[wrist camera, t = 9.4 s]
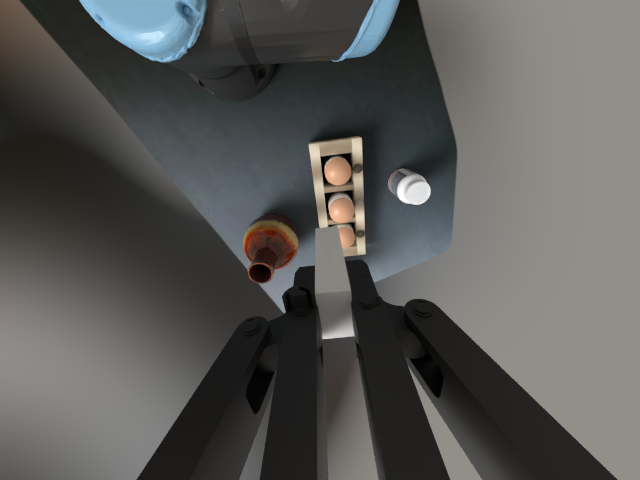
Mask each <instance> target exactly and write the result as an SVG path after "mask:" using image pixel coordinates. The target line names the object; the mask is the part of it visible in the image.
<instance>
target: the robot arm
mask: <svg viewBox="0 0 640 480" xmlns="http://www.w3.org/2000/svg"><path fill="white" fill-rule="evenodd" d="M79 1H80V2H81V4H82V5H83V6H84V8H85V9H86V10H87V11H88V13H89V14H90V15H91V16H92V18H93V19H94V20H95V21H96V22H97V23H98V24H99V25H100V26H101V27H102V28H103V29H104V30H106V31H107V32H108V33H109V34H110V35H111V36H112V37H114V38H115V39H117V40H118V41H119V42H121V43H123V44H124V45H126V46H128V47H129V48H131V49H133V50H134V51H136V52H137V53H138V54H141V55H143V56H144V57H146V58H149V59H151V60H153V61H160V62H162V63H165V64H168V65H170V66H173V67H176V68H178V69H181V70H183V71H186V72H187V73H188V74H189V75H190V76H191V78H192V79H193V80H194V81H195V82H196V83H197V84H198V85H199V86H201V87H202V88H203V89H205V90H206V91H207V92H209V93H211V94H213V95H215V96H217V97H220V98H223V99H227V100H232V101H241V100H246V99H249V98H252V97H254V96H256V95H257V94H259V93H260V92H261V91H262V90H263V89H264V88H265V87H266V86H267V84H268V83H269V81H270V79H271V77H272V75H273V73H274V70H275V66H276V63H294V62H311V61H329V60H331V61H333V62H338V61H342V60H344V59H345V58H353V57H361V56H365V55H367V54H369V53H371V52H372V51H374V50H375V49H376V48H377V47H378V46H379V44H380V43H381V42H382V40H383V38H384V37H385V35H386V33H387V31H388V29H389V27H390V25H391V23H392V20H393V18H394V15H395V12H396V10H397V7H398V4H399V1H400V0H79ZM282 299H283V303H284V307H285V310H286V313H285V314H284V315H282V316H280V317H278V318H276V319H273V320H271V321H268V322H267V320H266V319H265V318H264V317H260V316H256V317H251V318H248V319H246V320H245V321H243V322H242V323H241V324H240V325H239V326H238V327H237V329H236V330H235V332H234V333H233V335H232V336H231V338H230V339H229V341H228V342H227V344H226V345H225V347H224V348H223V350H222V351H221V353H220V354H219V356H218V357H217V359H216V360H215V362H214V363H213V365H212V366H211V368H210V370H209V371H208V373H207V374H206V376H205V377H204V379H203V380H202V382H201V383H200V385H199V386H198V388H197V389H196V391H195V392H194V394H193V395H192V397H191V398H190V400H189V402H188V403H187V404H186V406H185V408H184V409H183V410H182V412H181V413H180V415H179V416H178V418H177V420H176V421H175V423H174V424H173V426H172V427H171V429H170V430H169V432H168V433H167V435H166V436H165V438H164V439H163V441H162V442H161V444H160V445H159V447H158V448H157V450H156V451H155V453H154V454H153V456H152V457H151V459H150V460H149V462H148V463H147V465H146V466H145V468H144V470H143V471H142V473H141V474H140V476H139V477H138V478H137V480H239V478H240V475H241V473H242V470H243V468H244V465H245V462H246V460H247V457H248V454H249V452H250V449H251V447H252V444H253V441H254V439H255V436H256V434H257V431H258V428H259V426H260V423H261V420H262V418H263V415H264V413H265V410H266V407H267V405H268V402H269V399H270V397H271V394H272V392H273V398H272V404H271V411H270V417H269V423H268V430H267V436H266V443H265V449H264V456H263V462H262V468H261V475H260V480H328V462H327V461H328V459H327V434H326V433H327V431H326V403H325V375H324V349H323V343H322V338H323V339H329V338H339V337H348V336H349V337H350V336H355V344H356V356H357V358H358V363H359V369H360V374H361V380H362V385H363V391H364V397H365V403H366V409H367V415H368V421H369V427H370V433H371V438H372V444H373V450H374V456H375V461H376V467H377V473H378V479H379V480H450V478H449V476H448V473H447V470H446V467H445V465H444V462H443V459H442V457H441V454H440V451H439V449H438V446H437V443H436V440H435V438H434V435H433V433H432V430H431V427H430V424H429V422H428V419H427V416H426V414H425V411H424V408H423V406H422V403H421V400H420V398H419V395H418V392H417V389H416V387H415V384H414V382H413V379H412V376H411V373H410V371H409V368H410V369H411V370H412V372H413V374H414V375H415V377H416V378H417V380H418V381H419V383H420V385H421V386H422V388H423V389H424V391H425V392H426V393H427V395H428V397H429V398H430V400H431V401H432V403H433V404H434V406H435V407H436V409H437V410H438V412H439V414H440V415H441V417H442V418H443V420H444V421H445V423H446V424H447V426H448V427H449V429H450V431H451V432H452V434H453V435H454V437H455V438H456V440H457V441H458V443H459V444H460V446H461V448H462V449H463V450H464V452H465V454H466V455H467V457H468V458H469V460H470V461H471V463H472V464H473V466H474V468H475V469H476V471H477V472H478V474H479V475H480V477H481V478H482V480H617V479H616V478H615V477H614V476H613V475H612V474H611V473H610V472H609V471H608V470H607V469H606V468H605V467H604V466H603V465H602V464H601V463H599V461H597V460H596V459H595V458H594V457H593V456H592V455H591V454H590V453H589V452H588V451H587V450H586V449H585V448H584V447H583V446H582V445H581V444H580V443H579V442H578V441H577V440H576V439H575V438H574V437H572V435H571V434H569V433H568V432H567V431H566V430H565V429H564V428H563V427H562V426H561V425H560V424H559V423H558V422H557V421H556V420H555V419H554V418H553V417H552V416H551V415H550V414H549V413H548V412H547V411H546V410H545V409H543V408H542V407H541V406H540V405H539V404H538V403H537V402H536V401H535V400H534V399H533V398H532V397H531V396H530V395H529V394H528V393H527V392H526V391H525V390H524V389H523V388H522V387H521V386H520V385H518V383H517V382H515V381H514V380H513V379H512V378H511V377H510V376H509V375H508V374H507V373H506V372H505V371H504V370H503V369H502V368H501V367H500V366H499V365H498V364H497V363H496V362H495V361H494V360H493V359H492V358H491V357H490V356H489V355H488V354H487V353H485V352H484V351H483V350H482V349H481V348H480V347H479V346H478V345H477V344H476V343H475V342H474V341H473V340H472V339H471V338H470V337H469V336H468V335H467V334H466V333H465V332H464V331H463V330H462V329H461V328H460V327H458V326H457V325H456V324H455V323H454V322H453V321H452V320H451V319H450V318H449V317H448V316H447V315H446V314H445V313H444V312H443V311H442V310H441V309H440V308H439V307H438V306H437V305H435V304H434V303H432V302H430V301H427V300H424V299H414V300H411V301H409V302H407V303H406V305H405V307H403V306H396V305H392V304H389V303H386V302H385V301H383V300H382V298H381V297H380V296H379V295H378V293H377V291H376V288H375V285H374V282H373V279H372V277H371V274H370V271H369V268H368V265H367V264H366V263H365V262H364V261H363V260H354V261H345V259H344V254H343V249H342V244H341V239H340V234H339V230H338V226H333V227H324V228H316V229H315V266H306V267H299V269H298V270H297V271H296V272H295V277H294V285H293V287H291V288H289V289H288V290H287V291H286V292H284V294H283V296H282ZM408 366H409V368H408ZM273 389H274V391H273Z"/></svg>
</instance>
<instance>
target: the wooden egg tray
mask: <svg viewBox="0 0 640 480" xmlns="http://www.w3.org/2000/svg"><path fill="white" fill-rule="evenodd" d="M309 150H310V158H311V165H312V173H313V181H314V188H315V196H316V204H317V211H318V219H319V227H320V228H324V227H328V225H331V224H340V223H338V222H336V221H334V220H333V219H332V218H331V217H330V214H329V213H328V214H327V213H326V204H325V195H324V193H329V192H337V191H345V190H352V203H353V205H354V208H355V213H354V216H353V217H352V218H351V219H350V220H349V221H347V222H345V223H349V222H353V223H354V235H355V241H354V243H353V244H352V245H351V246H350V247H348V248H345V249H343V254H344V257H346V256H355V255H364V254H366V251H365V221H364V191H363V161H362V137H359V136H355V137H348V138H340V139H332V140H325V141H317V142H309ZM344 153H350V167H351V180H348V181H347V182H346V183H345V184H343V185H333V184H331V183H330V182H329V183H323V177H322V168H321V159H320V156H328V155H336V154H344Z"/></svg>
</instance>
